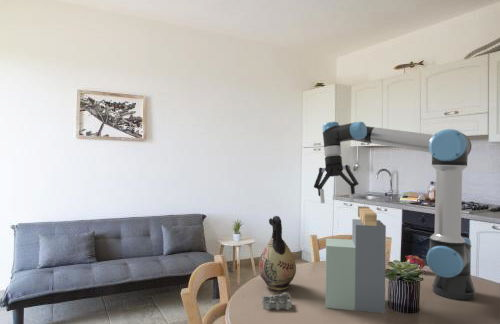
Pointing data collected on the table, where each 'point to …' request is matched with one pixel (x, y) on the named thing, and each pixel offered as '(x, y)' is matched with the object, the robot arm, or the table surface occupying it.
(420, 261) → the flower
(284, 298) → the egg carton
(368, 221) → the oak bar
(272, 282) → the ceramic jug
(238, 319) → the table surface
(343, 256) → the two-step stand
